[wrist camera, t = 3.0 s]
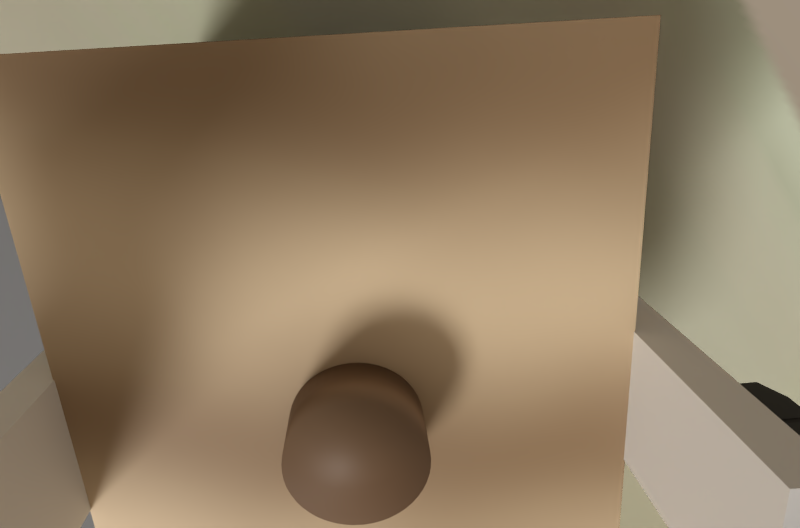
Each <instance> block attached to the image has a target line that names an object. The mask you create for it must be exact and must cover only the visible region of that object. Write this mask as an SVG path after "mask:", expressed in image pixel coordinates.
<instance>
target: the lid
mask: <svg viewBox="0 0 800 528" xmlns="http://www.w3.org/2000/svg"><path fill="white" fill-rule="evenodd" d="M660 18H661V15H652V16H635V17H619V18H602V19H585V20H568V21H551V22H534V23H518V24H501V25H484V26H467V27H450V28H433V29H417V30H400V31H383V32H366V33H349V34H332V35H316V36H299V37H282V38H265V39H248V40H231V41H215V42H198V43H181V44H164V45H147V46H130V47H114V48H97V49H80V50H63V51H46V52H29V53H13V54H0V195H1V199H2V202H3V206H4V209H5V213H6V216H7V220H8V223H9V227H10V230H11V234H12V237H13V241H14V244H15V248H16V252H17V255H18V259H19V262H20V266H21V269H22V273H23V276H24V280H25V283H26V287H27V290H28V294H29V297H30V301H31V304H32V308H33V311H34V315H35V318H36V322H37V325H38V329H39V332H40V336H41V339H42V343H43V346H44V350H45V354H46V357H47V361H48V364H49V368H50V371H51V375H52V378H53V380H54V381H55V384H56V388H57V391H58V395H59V398H60V402H61V405H62V409H63V412H64V416H65V420H66V423H67V427H68V430H69V434H70V437H71V441H72V444H73V448H74V451H75V455H76V458H77V462H78V465H79V469H80V472H81V476H82V479H83V483H84V487H85V490H86V494H87V497H88V501H89V504H90V508H91V510H90V512H91V515H92V519H93V522H94V526H95V528H619V526H620V513H621V501H622V489H623V476H624V464H625V461H624V450H625V438H626V425H627V413H628V400H629V388H630V375H631V363H632V350H633V338H634V332H635V328H636V315H637V303H638V290H639V278H640V266H641V253H642V241H643V229H644V216H645V204H646V191H647V179H648V167H649V154H650V142H651V129H652V117H653V105H654V92H655V80H656V68H657V55H658V43H659V30H660Z"/></svg>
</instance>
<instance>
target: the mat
mask: <svg viewBox="0 0 800 528" xmlns="http://www.w3.org/2000/svg"><path fill="white" fill-rule="evenodd" d="M43 351H44V346H43V343H42V339H41V336H40V332H39V329H38V325H37V322H36V318H35V315H34V311H33V308H32V304H31V301H30V297H29V294H28V290H27V287H26V283H25V280H24V276H23V273H22V269H21V266H20V262H19V259H18V255H17V252H16V248H15V244H14V241H13V237H12V234H11V230H10V227H9V223H8V220H7V216H6V213H5V209H4V206H3V202H2V199H1V195H0V392H1V391H2V390H3V389H4V388H5V387H6V386H7V385H8V384H9V383H10V382H11V381H12V380H13V379H14V378H15V377H16V376H17V375H18V374H20V373H21V372H22V371H23V370H24V369H25V368H26V367H27V366H28V365H29V364H30V363H31V362H32V361H33V360H34V359H35V358H36V357H37V356H38V355H39V354H40V353H41V352H43ZM81 528H95V526H94V522H93V519H92V515H91V512H89V514H88V515H87V517H86V519H85V521H84V522H83V524H82V526H81Z"/></svg>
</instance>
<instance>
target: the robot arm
mask: <svg viewBox="0 0 800 528" xmlns="http://www.w3.org/2000/svg"><path fill="white" fill-rule="evenodd" d="M624 461H625V462H626V464H627V465H628V467H629V468H630V470H631V472H632V473H633V475H634V476H635V478H636V479H637V481H638V482H639V484H640V485H641V487H642V488H643V490H644V491H645V493H646V494H647V496H648V497H649V499H650V501H651V502H652V504H653V505H654V507H655V508H656V510H657V511H658V513H659V514H660V516H661V517H662V519H663V520H664V522H665V523H666V525H667V526H668V528H800V406H798V405H797V404H796V403H795V402H793V401H792V400H791V399H790V398H789V397H786V396H784V395H782V394H780V393H778V392H776V391H774V390H772V389H770V388H768V387H765V386H763V385H761V384H759V383H757V382H753V383H742V384H740V383H738V382H737V381H736V380H735V379H734V378H733V377H731V376H730V375H729V374H728V373H727V372H726V371H725V370H723V369H722V368H721V367H720V366H719V365H718V364H716V363H715V362H714V361H713V360H712V359H711V358H709V357H708V356H707V355H706V354H705V353H704V352H703V351H701V350H700V349H699V348H698V347H697V346H696V345H694V344H693V343H692V342H691V341H690V340H689V339H688V338H686V337H685V336H684V335H683V334H682V333H681V332H679V331H678V330H677V329H676V328H675V327H674V326H673V325H671V324H670V323H669V322H668V321H667V320H666V319H664V318H663V317H662V316H661V315H660V314H659V313H658V312H656V311H655V310H654V309H653V308H652V307H651V306H649V305H648V304H647V303H646V302H645V301H644V300H643V299H641V298H640V297H639V296H638V303H637V315H636V328H635V332H634V338H633V350H632V363H631V375H630V388H629V400H628V413H627V425H626V438H625V450H624ZM90 510H91V508H90V504H89V501H88V497H87V494H86V490H85V487H84V483H83V479H82V476H81V472H80V469H79V465H78V462H77V458H76V455H75V451H74V448H73V444H72V441H71V437H70V434H69V430H68V427H67V423H66V420H65V416H64V412H63V409H62V405H61V402H60V398H59V395H58V391H57V388H56V384H55V381H54V380H53V378H52V375H51V371H50V368H49V364H48V361H47V357H46V354H45V350H44V351H43V352H41V353H40V354H39V355H38V356H37V357H36V358H35V359H34V360H33V361H32V362H31V363H30V364H29V365H28V366H27V367H26V368H25V369H24V370H23V371H22V372H21V373H20V374H18V375H17V376H16V377H15V378H14V379H13V380H12V381H11V382H10V383H9V384H8V385H7V386H6V387H5V388H4V389H3V390H2V391H1V392H0V528H81V526H82V524H83V522H84V521H85V519H86V517H87V515H88V514H89V512H90Z"/></svg>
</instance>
